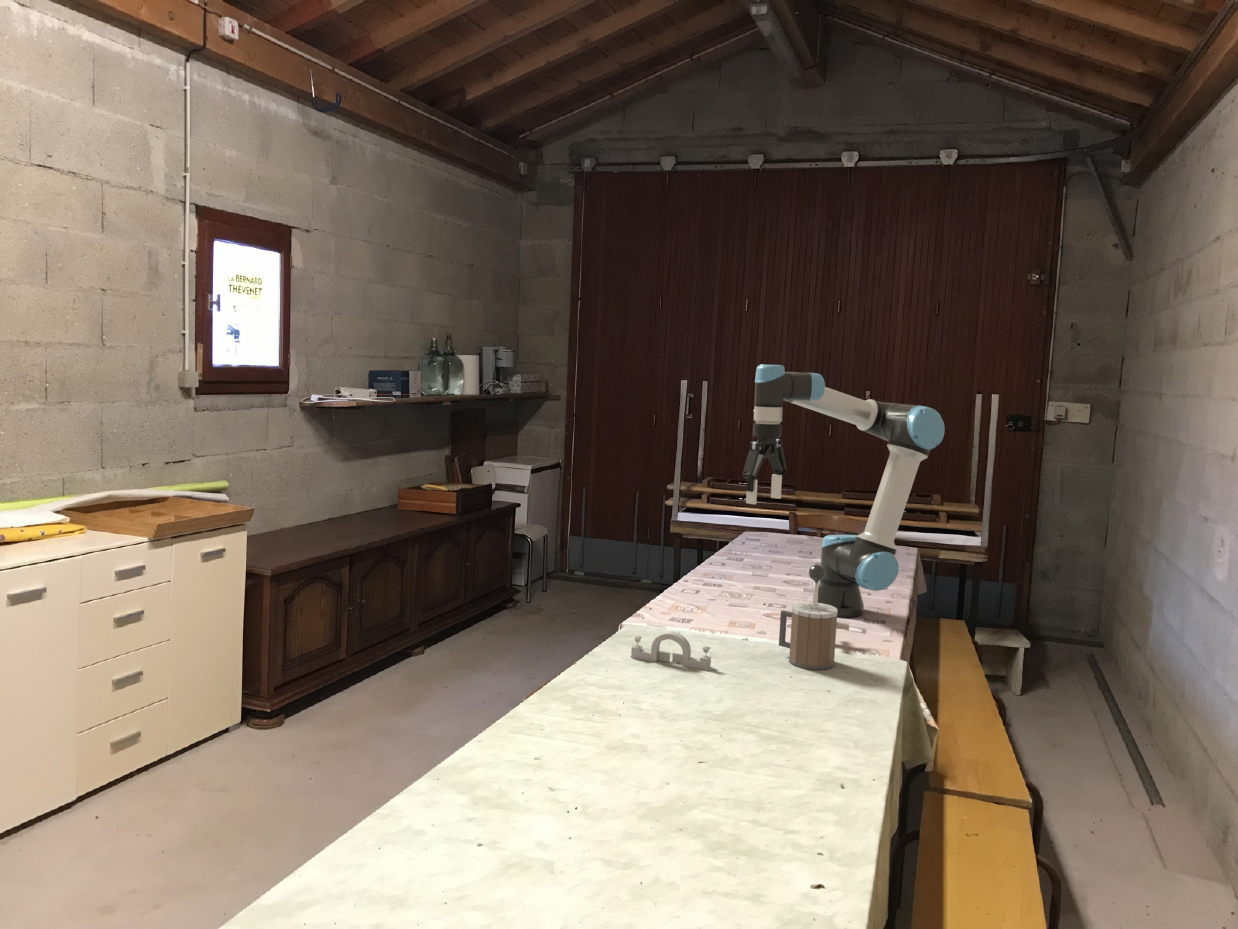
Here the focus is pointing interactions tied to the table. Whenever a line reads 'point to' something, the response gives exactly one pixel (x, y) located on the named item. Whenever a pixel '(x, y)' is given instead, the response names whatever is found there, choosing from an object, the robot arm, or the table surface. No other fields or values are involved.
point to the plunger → (816, 581)
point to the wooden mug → (810, 635)
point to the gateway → (676, 658)
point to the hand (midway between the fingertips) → (763, 501)
